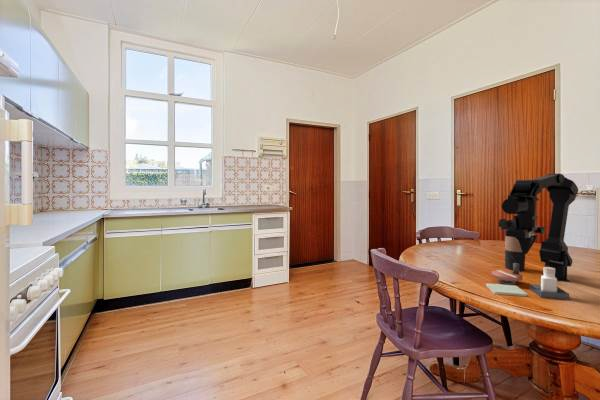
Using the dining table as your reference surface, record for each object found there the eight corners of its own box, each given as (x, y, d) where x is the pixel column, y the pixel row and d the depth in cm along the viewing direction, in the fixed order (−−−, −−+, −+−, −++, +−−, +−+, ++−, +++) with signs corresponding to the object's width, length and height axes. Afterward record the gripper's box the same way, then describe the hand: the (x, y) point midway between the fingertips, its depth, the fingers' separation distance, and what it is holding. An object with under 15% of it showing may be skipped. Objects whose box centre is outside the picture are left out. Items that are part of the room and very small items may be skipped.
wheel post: (512, 280, 118) (512, 275, 118) (518, 285, 112) (518, 280, 112) (495, 279, 119) (495, 274, 119) (500, 284, 114) (500, 279, 114)
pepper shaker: (542, 295, 102) (542, 268, 102) (540, 291, 106) (541, 265, 105) (557, 297, 100) (557, 270, 99) (555, 293, 103) (555, 267, 103)
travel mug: (519, 272, 129) (520, 227, 128) (501, 267, 135) (501, 225, 134) (528, 269, 132) (529, 226, 131) (510, 265, 139) (511, 224, 138)
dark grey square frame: (555, 291, 105) (555, 285, 105) (569, 299, 98) (569, 293, 98) (529, 289, 108) (529, 284, 108) (541, 297, 100) (541, 291, 100)
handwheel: (529, 280, 111) (529, 267, 111) (504, 281, 110) (505, 268, 110) (508, 272, 121) (508, 260, 121) (485, 273, 120) (486, 261, 120)
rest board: (516, 287, 110) (516, 285, 110) (527, 296, 101) (527, 294, 101) (486, 285, 113) (486, 283, 112) (494, 293, 104) (494, 291, 104)
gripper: (513, 210, 121) (511, 247, 122) (490, 212, 111) (489, 252, 112) (546, 212, 112) (544, 252, 112) (525, 215, 102) (523, 259, 103)
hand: (524, 253), depth 110 cm, fingers closed
